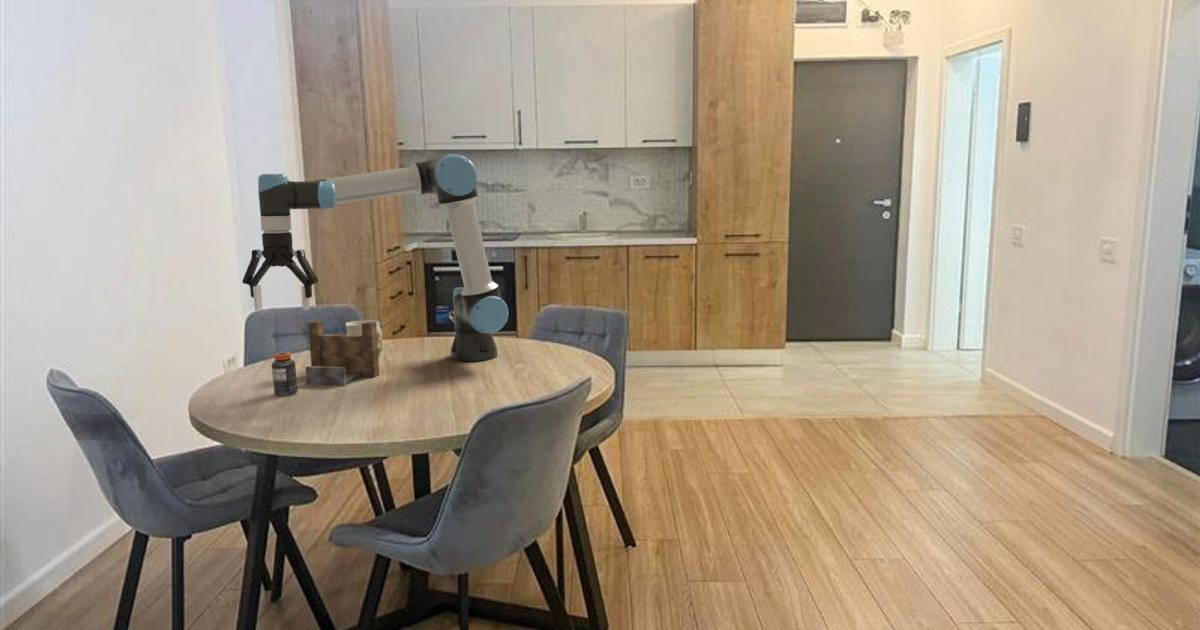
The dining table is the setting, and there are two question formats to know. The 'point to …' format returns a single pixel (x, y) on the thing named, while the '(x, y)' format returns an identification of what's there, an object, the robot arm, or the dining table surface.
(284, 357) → the pill bottle
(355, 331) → the pitcher
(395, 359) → the dining table surface
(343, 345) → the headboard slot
